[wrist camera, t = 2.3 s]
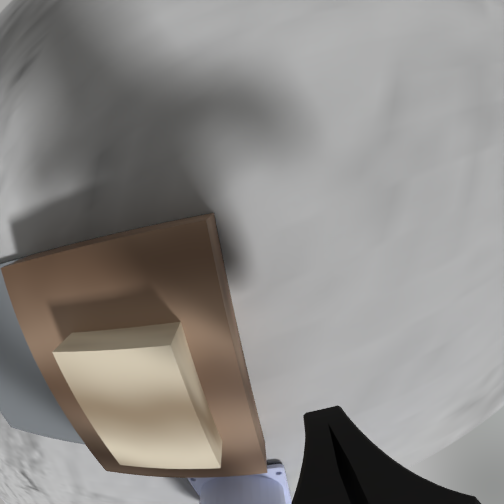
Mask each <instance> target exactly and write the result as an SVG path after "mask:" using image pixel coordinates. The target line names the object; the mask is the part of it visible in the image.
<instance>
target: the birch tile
mask: <svg viewBox="0 0 504 504" xmlns="http://www.w3.org/2000/svg"><path fill="white" fill-rule="evenodd" d="M52 353H53V355H54V357H55V359H56V361H57V363H58V365H59V368H60V370H61V372H62V374H63V376H64V377H65V379H66V381H67V383H68V385H69V387H70V389H71V391H72V392H73V394H74V396H75V398H76V400H77V401H78V403H79V405H80V406H81V408H82V410H83V412H84V413H85V415H86V416H87V418H88V420H89V421H90V423H91V424H92V426H93V427H94V429H95V431H96V432H97V434H98V435H99V436H100V438H101V439H102V441H103V442H104V444H105V445H106V447H107V448H108V449H109V451H110V452H111V453H112V455H113V456H114V458H115V459H116V460H117V461H118V463H119V464H120V465H125V466H135V467H147V468H165V469H212V468H221V456H222V440H221V437H220V435H219V432H218V430H217V427H216V425H215V422H214V419H213V417H212V414H211V412H210V409H209V406H208V403H207V401H206V398H205V395H204V392H203V389H202V387H201V384H200V381H199V378H198V375H197V372H196V369H195V366H194V363H193V360H192V357H191V354H190V351H189V347H188V344H187V341H186V338H185V334H184V331H183V328H182V324H181V322H174V323H166V324H158V325H149V326H140V327H131V328H121V329H111V330H100V331H88V332H75V333H71V334H70V335H69V336H68V337H67V338H66V339H65V340H64V341H63V342H62V343H61V344H60V345H59V346H58V347H57V348H56V349H55V350H54V351H53V352H52Z"/></svg>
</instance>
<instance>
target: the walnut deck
mask: <svg viewBox="0 0 504 504" xmlns="http://www.w3.org/2000/svg"><path fill="white" fill-rule="evenodd" d="M1 271H2V275H3V278H4V282H5V285H6V288H7V291H8V294H9V297H10V300H11V303H12V306H13V309H14V312H15V314H16V317H17V320H18V322H19V325H20V327H21V330H22V332H23V335H24V337H25V339H26V342H27V344H28V346H29V348H30V351H31V353H32V355H33V357H34V359H35V361H36V363H37V365H38V367H39V369H40V371H41V373H42V375H43V377H44V379H45V381H46V383H47V385H48V386H49V388H50V390H51V392H52V394H53V395H54V397H55V399H56V400H57V402H58V404H59V405H60V407H61V409H62V410H63V412H64V414H65V415H66V417H67V418H68V420H69V421H70V423H71V424H72V426H73V427H74V429H75V430H76V432H77V433H78V435H79V436H80V438H81V439H82V440H83V442H84V443H85V445H86V446H87V447H88V449H89V450H90V451H91V453H92V454H93V455H94V456H95V458H96V459H97V460H98V462H99V463H100V464H101V465H102V466H103V468H104V469H105V470H106V471H111V472H118V473H125V474H134V475H144V476H157V477H180V478H207V477H230V476H243V475H253V474H262V473H268V472H267V461H266V450H265V441H264V437H263V433H262V429H261V425H260V421H259V417H258V413H257V409H256V405H255V401H254V397H253V392H252V388H251V384H250V380H249V376H248V371H247V367H246V363H245V359H244V354H243V350H242V345H241V341H240V337H239V332H238V328H237V323H236V319H235V314H234V309H233V305H232V300H231V295H230V291H229V286H228V281H227V276H226V272H225V267H224V262H223V257H222V252H221V247H220V242H219V237H218V232H217V227H216V222H215V216H214V213H210V214H205V215H200V216H195V217H190V218H185V219H180V220H175V221H170V222H165V223H161V224H156V225H151V226H147V227H142V228H138V229H133V230H129V231H124V232H120V233H116V234H111V235H107V236H103V237H99V238H95V239H91V240H87V241H83V242H79V243H75V244H71V245H67V246H63V247H59V248H55V249H52V250H48V251H44V252H40V253H37V254H33V255H30V256H27V257H25V258H23V259H20V260H18V261H15V262H13V263H11V264H8V265H6V266H4V267H2V268H1ZM174 322H181V324H182V328H183V331H184V334H185V338H186V341H187V344H188V347H189V351H190V354H191V357H192V360H193V363H194V366H195V369H196V372H197V375H198V378H199V381H200V384H201V387H202V389H203V392H204V395H205V398H206V401H207V403H208V406H209V409H210V412H211V414H212V417H213V419H214V422H215V425H216V427H217V430H218V432H219V435H220V437H221V440H222V456H221V468H212V469H165V468H147V467H135V466H125V465H120V464H119V463H118V461H117V460H116V459H115V458H114V456H113V455H112V453H111V452H110V451H109V449H108V448H107V447H106V445H105V444H104V442H103V441H102V439H101V438H100V436H99V435H98V434H97V432H96V431H95V429H94V427H93V426H92V424H91V423H90V421H89V420H88V418H87V416H86V415H85V413H84V412H83V410H82V408H81V406H80V405H79V403H78V401H77V400H76V398H75V396H74V394H73V392H72V391H71V389H70V387H69V385H68V383H67V381H66V379H65V377H64V376H63V374H62V372H61V370H60V368H59V365H58V363H57V361H56V359H55V357H54V355H53V353H52V352H53V351H54V350H55V349H56V348H57V347H58V346H59V345H60V344H61V343H62V342H63V341H64V340H65V339H66V338H67V337H68V336H69V335H70V334H71V333H75V332H88V331H100V330H111V329H121V328H131V327H140V326H149V325H158V324H166V323H174Z"/></svg>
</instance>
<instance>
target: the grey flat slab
mask: <svg viewBox="0 0 504 504" xmlns="http://www.w3.org/2000/svg"><path fill="white" fill-rule="evenodd" d="M26 257H27V256H26ZM23 258H25V257H22V258H19V259H15V260H12V261H9V262H5V263H2V264H0V412H1V413H2V415H3V416H4V418H5V419H6V421H7V422H8V424H9V425H10V427H12V428H16V429H19V430H23V431H26V432H30V433H33V434H37V435H41V436H45V437H50V438H54V439H59V440H64V441H69V442H74V443H80V444H85V443H84V442H83V440H82V439H81V438H80V436H79V435H78V433H77V432H76V430H75V429H74V427H73V426H72V424H71V423H70V421H69V420H68V418H67V417H66V415H65V414H64V412H63V410H62V409H61V407H60V405H59V404H58V402H57V400H56V399H55V397H54V395H53V394H52V392H51V390H50V388H49V386H48V385H47V383H46V381H45V379H44V377H43V375H42V373H41V371H40V369H39V367H38V365H37V363H36V361H35V359H34V357H33V355H32V353H31V351H30V348H29V346H28V344H27V342H26V339H25V337H24V335H23V332H22V330H21V327H20V325H19V322H18V320H17V317H16V314H15V312H14V309H13V306H12V303H11V300H10V297H9V294H8V291H7V288H6V285H5V282H4V278H3V275H2V271H1V268H2V267H4V266H6V265H8V264H11V263H13V262H15V261H18V260H20V259H23Z"/></svg>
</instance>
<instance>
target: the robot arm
mask: <svg viewBox="0 0 504 504" xmlns="http://www.w3.org/2000/svg"><path fill="white" fill-rule="evenodd" d="M303 416H304V425H305V449H304V457H303V463H302V468H301V473H300V477H299V481H298V485H297V488H296V491H295V494H294V498H293V500H292V502H291V497H290V492H289V488H288V483H287V478H286V473H285V469H284V465H282V464H273V465H267V472H268V473H262V474H253V475H243V476H230V477H207V478H187V479H188V481H189V482H190V484H191V485H192V486H193V488H194V489H195V491H196V492H197V494H198V495H199V496H200V502H199V504H481V503H480V502H479V501H478V500H477V498H476V497H474V496H470V495H466V494H462V493H459V492H456V491H453V490H450V489H447V488H444V487H442V486H439V485H437V484H435V483H432V482H430V481H428V480H426V479H424V478H422V477H420V476H418V475H416V474H414V473H413V472H411V471H409V470H408V469H406V468H405V467H403V466H402V465H400V464H399V463H397V462H396V461H394V460H393V459H392V458H390V457H389V456H388V455H386V454H385V453H384V452H383V451H382V450H380V449H379V448H378V447H377V446H376V445H375V444H374V443H372V442H371V441H370V440H369V439H368V438H367V437H366V436H365V435H364V434H363V433H362V432H361V431H360V430H359V429H358V428H357V427H356V425H355V424H354V423H353V422H352V421H351V420H350V419H349V417H348V416H347V415H346V414H345V412H344V411H343V410H342V408H341V407H340V406H334V407H330V408H326V409H322V410H317V411H313V412H308V413H306V414H304V415H303Z"/></svg>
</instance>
